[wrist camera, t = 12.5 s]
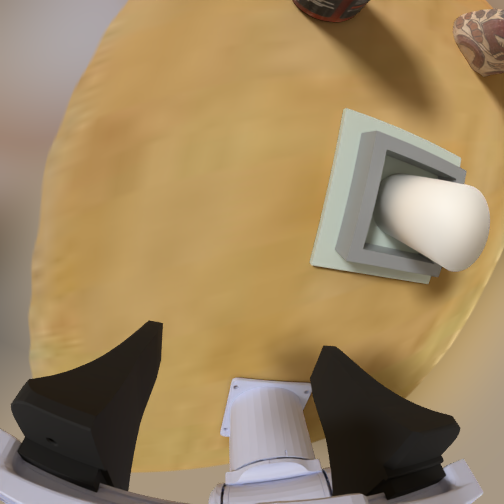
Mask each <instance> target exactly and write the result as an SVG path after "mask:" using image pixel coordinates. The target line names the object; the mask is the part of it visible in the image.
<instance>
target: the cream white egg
mask: <svg viewBox="0 0 504 504" xmlns="http://www.w3.org/2000/svg"><path fill="white" fill-rule="evenodd" d="M373 218H374V220H375V222H376V224H377V226H378V227H379V228H380V229H381V230H382V231H383V232H385V233H386V234H388V235H390V236H392V237H394V238H395V239H397V240H399V241H401V242H402V243H404V244H406V245H407V246H409V247H411V248H413V249H414V250H416V251H418V252H419V253H421V254H423V255H424V256H426V257H428V258H429V259H431V260H432V261H434V262H436V263H437V264H439V265H441V266H442V267H444V268H445V269H447V270H449V271H454V272H457V271H462V270H464V269H466V268H468V267H470V266H471V265H472V264H473V263H474V262H475V261H476V260H477V259H478V257H479V256H480V254H481V253H482V251H483V249H484V247H485V244H486V241H487V238H488V234H489V228H490V214H489V208H488V205H487V202H486V200H485V198H484V196H483V195H482V193H481V192H480V191H479V190H478V189H476V188H475V187H473V186H469V185H465V184H460V183H455V182H449V181H444V180H438V179H433V178H427V177H421V176H414V175H408V174H400V173H396V174H391V175H389V176H387V177H385V178H384V179H383V180H382V181H381V182H380V185H379V189H378V193H377V198H376V202H375V206H374V210H373Z"/></svg>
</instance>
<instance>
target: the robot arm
mask: <svg viewBox="0 0 504 504" xmlns="http://www.w3.org/2000/svg"><path fill="white" fill-rule="evenodd" d="M162 330H163V323H159V322H154V321H148V322H146V323H145V324H144V325H143V326H142V327H141V328H140V329H138V330H137V331H136V332H135V333H134V334H132V335H131V336H130V337H129V338H127V339H126V340H125V341H124V342H122V343H121V344H120V345H118V346H117V347H115V348H114V349H112V350H111V351H109V352H108V353H106V354H105V355H103V356H101V357H100V358H98V359H96V360H94V361H92V362H90V363H87V364H85V365H83V366H80V367H78V368H75V369H73V370H70V371H66V372H63V373H60V374H56V375H52V376H47V377H41V378H35V379H29V380H28V381H27V382H26V384H25V385H24V386H23V387H22V389H21V390H20V392H19V393H18V395H17V396H16V398H15V399H14V401H13V403H12V404H11V410H12V413H13V416H14V418H15V420H16V422H17V423H18V425H19V427H20V429H21V431H22V432H23V434H24V436H25V438H24V440H23V442H22V443H21V442H20V441H19V440H18V439H17V438H16V437H14V436H13V435H11V434H9V433H7V432H6V431H4V430H2V429H1V428H0V500H1V501H3V502H4V503H5V504H188V503H181V502H175V501H169V500H164V499H158V498H153V497H148V496H144V495H140V494H136V493H132V492H128V488H129V481H130V474H131V467H132V461H133V455H134V450H135V445H136V440H137V435H138V431H139V426H140V422H141V419H142V416H143V413H144V410H145V408H146V405H147V402H148V400H149V397H150V394H151V392H152V389H153V386H154V384H155V381H156V378H157V374H158V370H159V366H160V362H161V349H162ZM310 381H311V383H300V382H282V381H268V380H256V379H246V378H234V379H232V382H231V386H230V391H229V395H228V400H227V404H226V409H225V413H224V418H223V422H222V427H221V431H220V434H221V435H222V436H227V437H229V451H230V472H226V483H219V484H217V485H216V487H215V488H214V489H213V490H212V492H211V494H210V497H209V504H471V503H472V502H474V501H475V500H476V499H477V498H479V497H480V496H481V495H482V494H483V491H482V489H481V487H480V485H479V484H478V482H477V480H476V478H475V477H474V475H473V473H472V472H471V470H470V468H469V467H468V465H467V464H466V462H465V460H464V459H460V460H458V461H456V462H453V463H451V464H449V465H447V466H445V467H444V468H442V466H441V463H442V462H443V458H442V456H441V455H442V454H443V453H444V452H445V451H446V449H447V448H448V447H449V446H450V445H451V444H452V443H453V442H454V440H455V439H456V438H457V436H458V434H459V432H460V427H459V425H458V424H457V423H456V421H455V419H454V418H453V417H452V416H450V415H447V414H443V413H439V412H435V411H432V410H429V409H427V408H424V407H421V406H419V405H416V404H414V403H412V402H410V401H408V400H406V399H404V398H402V397H401V396H399V395H397V394H395V393H394V392H392V391H391V390H389V389H387V388H386V387H384V386H383V385H382V384H380V383H379V382H378V381H376V380H375V379H374V378H372V377H371V376H370V375H369V374H367V373H366V372H365V371H364V370H363V369H361V368H360V367H359V366H358V365H357V364H356V363H355V362H353V361H352V360H351V359H350V358H349V357H348V356H347V355H345V354H344V353H343V352H342V351H341V350H339V349H338V348H337V347H335V346H323V348H322V351H321V353H320V356H319V358H318V361H317V363H316V365H315V368H314V370H313V373H312V375H311V377H310ZM236 385H237V386H236ZM307 390H308V391H307ZM311 392H312V394H313V398H314V402H315V405H316V408H317V411H318V415H319V418H320V421H321V424H322V427H323V430H324V433H325V437H326V442H327V447H328V453H329V460H330V467H328V468H324V469H322V468H321V464H320V461H319V459H315V456H314V452H313V448H312V444H311V440H310V436H309V433H308V429H307V425H306V421H305V417H304V414H303V409H304V407H305V405H306V403H307V401H308V399H309V397H310V394H311Z"/></svg>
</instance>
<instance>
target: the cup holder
mask: <svg viewBox="0 0 504 504" xmlns="http://www.w3.org/2000/svg"><path fill="white" fill-rule="evenodd" d="M460 163H461V158H460V157H458V156H457V155H455V154H453V153H451V152H449V151H447V150H445V149H443V148H441V147H439V146H437V145H435V144H433V143H431V142H429V141H427V140H425V139H423V138H421V137H418V136H416V135H414V134H412V133H410V132H407V131H405V130H403V129H400V128H398V127H396V126H393V125H391V124H388V123H386V122H383V121H381V120H378V119H375V118H373V117H370V116H367V115H365V114H362V113H359V112H356V111H353V110H350V109H347V108H346V109H343V114H342V120H341V125H340V131H339V136H338V141H337V146H336V151H335V156H334V161H333V166H332V170H331V175H330V180H329V184H328V189H327V193H326V197H325V202H324V206H323V210H322V215H321V219H320V223H319V227H318V231H317V235H316V239H315V243H314V247H313V251H312V255H311V258H310V264H311V265H314V266H320V267H326V268H332V269H338V270H345V271H351V272H357V273H363V274H369V275H375V276H381V277H387V278H394V279H400V280H406V281H412V282H418V283H424V284H429V281H430V278H431V276H434V277H439V274H440V271H441V268H442V266H441V265H439V264H437V263H436V262H434V261H432V260H431V259H429V258H428V257H426V256H424V255H423V254H421V253H419V252H418V251H416V250H414V249H413V248H411V247H409V246H407V245H406V244H404V243H402V242H401V241H399V240H397V239H395V238H394V237H392V236H390V235H388V234H386V233H385V232H383V231H382V230H381V229H380V228H379V227H378V226H377V224H376V222H375V220H374V218H373V210H374V206H375V202H376V198H377V193H378V189H379V185H380V182H381V181H382V180H383V179H384V178H385V177H387V176H389V175H391V174H396V173H400V174H408V175H414V176H421V177H427V178H433V179H438V180H444V181H449V182H455V183H460V184H464V182H465V176H466V170H464V169H462V168H460Z"/></svg>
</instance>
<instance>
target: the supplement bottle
mask: <svg viewBox="0 0 504 504" xmlns="http://www.w3.org/2000/svg"><path fill="white" fill-rule="evenodd" d="M369 1H370V0H293V2H294V3H295V4H296V6H297V7H298V8H300V9H301V10H302V11H303V12H305V13H307V14H308V15H310V16H312V17H314V18H317V19H320V20H323V21H329V22H342V21H346V20H349V19H351V18H352V17H354V16H355V15H356V14H357V13H358V12H359V11H360V10H361V9H362V8H363V7H364V6H365V5H366V4H367V3H368V2H369Z"/></svg>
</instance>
